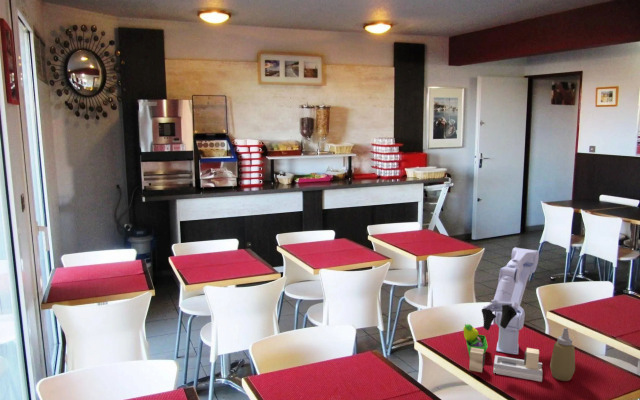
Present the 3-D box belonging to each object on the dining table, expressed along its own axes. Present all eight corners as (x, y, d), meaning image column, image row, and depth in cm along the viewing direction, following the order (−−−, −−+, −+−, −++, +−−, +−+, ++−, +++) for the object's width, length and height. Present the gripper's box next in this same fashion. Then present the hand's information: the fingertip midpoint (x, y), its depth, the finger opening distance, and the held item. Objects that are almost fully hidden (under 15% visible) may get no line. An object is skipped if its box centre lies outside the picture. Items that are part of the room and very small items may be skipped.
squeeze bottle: (572, 374, 188) (577, 325, 185) (575, 384, 180) (580, 334, 178) (548, 370, 191) (552, 322, 188) (549, 380, 183) (554, 331, 180)
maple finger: (470, 365, 194) (471, 347, 192) (484, 367, 192) (485, 349, 191) (469, 370, 190) (470, 351, 189) (483, 372, 188) (484, 354, 187)
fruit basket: (487, 360, 198) (489, 331, 196) (462, 357, 200) (464, 329, 198) (484, 347, 209) (486, 320, 207) (461, 345, 211) (462, 318, 209)
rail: (494, 361, 197) (496, 339, 196) (541, 369, 191) (543, 347, 190) (493, 373, 188) (494, 350, 187) (541, 381, 182) (543, 358, 181)
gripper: (481, 292, 198) (471, 323, 191) (512, 286, 186) (503, 319, 179) (493, 302, 200) (484, 334, 193) (525, 297, 188) (516, 331, 181)
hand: (494, 327), depth 186 cm, fingers open, 7 cm apart
